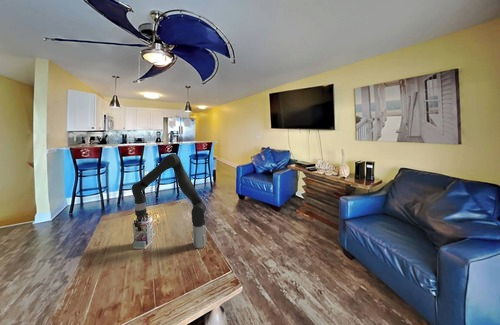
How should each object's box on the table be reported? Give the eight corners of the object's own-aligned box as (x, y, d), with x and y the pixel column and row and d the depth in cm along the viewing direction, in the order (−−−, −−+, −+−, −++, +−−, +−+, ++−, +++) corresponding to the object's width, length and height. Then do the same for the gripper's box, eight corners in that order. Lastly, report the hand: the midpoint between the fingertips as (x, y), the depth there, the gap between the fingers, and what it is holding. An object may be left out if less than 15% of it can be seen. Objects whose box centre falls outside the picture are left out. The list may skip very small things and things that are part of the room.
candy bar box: (133, 243, 143) (132, 223, 141) (138, 240, 148) (136, 220, 146) (147, 245, 142) (146, 224, 140) (151, 241, 147) (150, 221, 145)
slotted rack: (141, 241, 150) (140, 235, 150) (152, 242, 150) (151, 235, 149) (133, 248, 141) (132, 241, 140) (144, 248, 141) (144, 242, 140)
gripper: (139, 212, 134) (140, 234, 136) (151, 204, 148) (152, 225, 150) (129, 211, 134) (130, 234, 137) (141, 204, 148) (143, 224, 151)
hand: (142, 229), depth 144 cm, fingers closed on candy bar box, 5 cm apart
